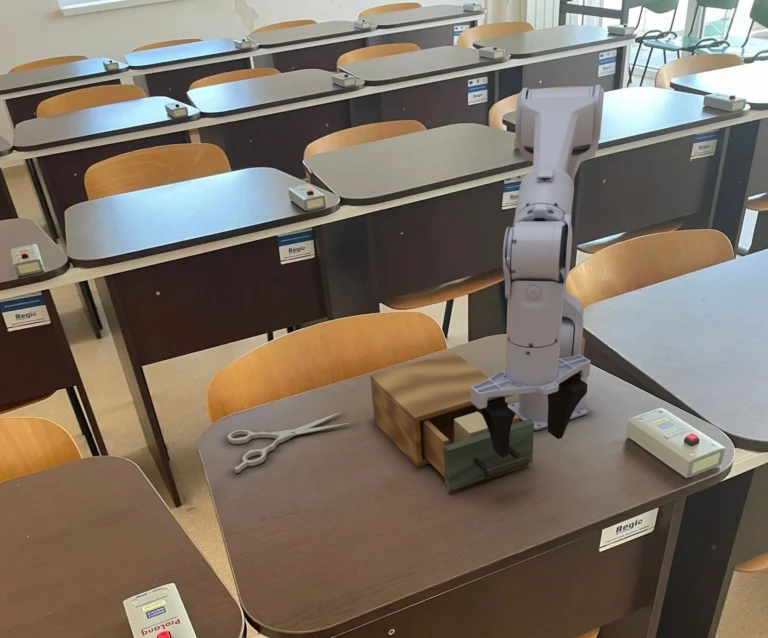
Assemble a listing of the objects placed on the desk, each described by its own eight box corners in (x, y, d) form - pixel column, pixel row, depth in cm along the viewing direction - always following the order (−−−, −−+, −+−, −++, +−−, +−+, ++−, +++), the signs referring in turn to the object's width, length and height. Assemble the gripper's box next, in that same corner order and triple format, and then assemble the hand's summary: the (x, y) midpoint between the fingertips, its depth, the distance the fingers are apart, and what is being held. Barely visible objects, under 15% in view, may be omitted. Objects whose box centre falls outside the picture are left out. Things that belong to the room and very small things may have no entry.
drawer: (550, 477, 100) (553, 437, 96) (465, 507, 96) (464, 466, 93) (481, 419, 113) (481, 381, 109) (404, 443, 109) (401, 405, 106)
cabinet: (503, 439, 110) (504, 390, 105) (417, 467, 106) (414, 417, 101) (454, 398, 121) (453, 351, 116) (374, 422, 117) (370, 375, 112)
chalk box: (477, 442, 106) (478, 411, 103) (494, 456, 103) (495, 425, 100) (454, 449, 105) (453, 418, 102) (470, 465, 102) (470, 433, 99)
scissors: (216, 436, 115) (336, 400, 121) (217, 440, 116) (337, 404, 122) (235, 469, 107) (363, 429, 113) (236, 474, 108) (363, 433, 114)
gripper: (494, 367, 76) (493, 478, 84) (612, 333, 80) (599, 442, 89) (460, 342, 81) (461, 449, 90) (572, 311, 86) (564, 416, 94)
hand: (528, 443), depth 89 cm, fingers open, 7 cm apart
